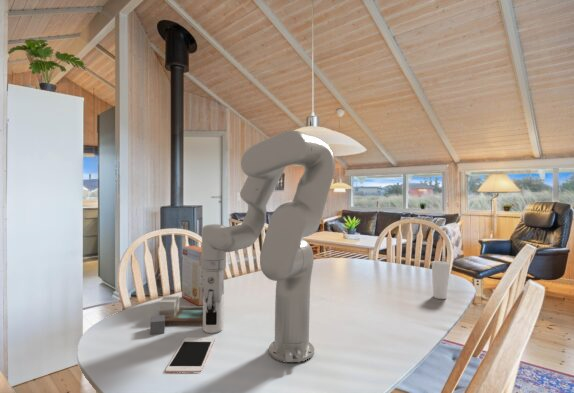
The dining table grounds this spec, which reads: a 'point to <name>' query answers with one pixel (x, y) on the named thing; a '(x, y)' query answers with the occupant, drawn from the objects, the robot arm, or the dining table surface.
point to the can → (220, 317)
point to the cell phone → (191, 355)
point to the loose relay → (157, 324)
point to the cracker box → (193, 275)
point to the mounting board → (180, 312)
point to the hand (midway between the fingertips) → (213, 319)
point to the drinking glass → (440, 279)
